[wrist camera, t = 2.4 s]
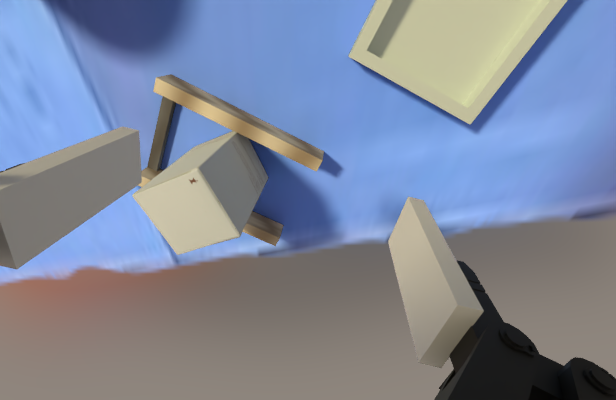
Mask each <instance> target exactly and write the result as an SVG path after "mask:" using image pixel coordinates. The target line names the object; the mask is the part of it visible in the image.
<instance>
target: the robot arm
mask: <svg viewBox="0 0 616 400" xmlns="http://www.w3.org/2000/svg"><path fill="white" fill-rule="evenodd" d="M141 182H142V176H141V159H140V142H139V130H135V129H131V128H127V127H120V128H118V129H115V130H112V131H110V132H107V133H104V134H102V135H99V136H96V137H94V138H91V139H88V140H86V141H83V142H80V143H78V144H75V145H72V146H70V147H67V148H64V149H62V150H59V151H57V152H54V153H51V154H49V155H46V156H43V157H41V158H38V159H35V160H33V161H30V162H27V163H23V164H19V165H17V166H14V167H11V168H8V169H6V170H5V171H0V266H4V267H9V268H13V269H18V268H19V267H21V266H22V265H24V264H25V263H27V262H28V261H29V260H31V259H32V258H34V257H35V256H37V255H38V254H40V253H41V252H42V251H44V250H45V249H47V248H48V247H50V246H51V245H52V244H54V243H55V242H57V241H58V240H60V239H61V238H62V237H64V236H65V235H67V234H68V233H70V232H71V231H73V230H74V229H75V228H77V227H78V226H80V225H81V224H83V223H84V222H85V221H87V220H88V219H90V218H91V217H93V216H94V215H96V214H97V213H98V212H100V211H101V210H103V209H104V208H106V207H107V206H108V205H110V204H111V203H113V202H114V201H116V200H117V199H118V198H120V197H121V196H123V195H124V194H126V193H127V192H129V191H130V190H131V189H133V188H134V187H136V186H137V185H139V184H140V183H141ZM388 243H389V247H390V251H391V255H392V259H393V262H394V267H395V271H396V275H397V279H398V283H399V287H400V291H401V295H402V299H403V303H404V307H405V311H406V314H407V319H408V323H409V326H410V331H411V335H412V339H413V343H414V347H415V351H416V355H417V359H418V363H422V364H426V365H431V366H435V367H439V368H441V367H442V366H443V365H444V364H445V362H446V361H447V360H448V358H449V357H450V358H451V361H452V364H453V367H454V370H453V371H452V372H451V374H450V375H449V376H448V377H447V378H446V380H445V381H444V382H443V383H442V385H441V386H440V387H439V389H440V391H439V393H438V395H437V396H436V398H435V400H616V379H615V378H614V377H613V376H612V375H611V374H609V373H608V372H607V371H606V370H604V369H603V368H601V367H599V366H598V365H596V364H594V363H593V362H590V361H588V360H585V359H583V358H576V357H575V358H573V359H571V360H570V361H569V362H568V363H567V364H566V365H565V366H563V365H561V364H559V363H557V362H555V361H552V360H550V359H548V358H546V357H544V356H542V355H540V354H539V352H538V350H537V349H536V347H535V345H534V343H533V342H532V341H531V340H530V339H529V338H528V337H527V336H526V335H525V334H524V333H522V332H521V331H520V330H519V329H517V328H515V327H514V326H512V325H510V324H508V323H504V322H503V320H502V318H501V317H500V315H499V313H498V312H497V310H496V308H495V307H494V305H493V303H492V301H491V300H490V298H489V296H488V295H487V294H486V293H485V290H484V288H483V286H482V285H480V281H479V280H478V278H477V276H476V275H475V273H474V272H473V271H472V270H471V269H470V268H469V267H468V266H467V265H466V264H465V263H464V262H461V261H457V260H456V259H455V257H454V255H453V253H452V252H451V250H450V248H449V246H448V244H447V242H446V241H445V239H444V237H443V235H442V233H441V231H440V230H439V228H438V226H437V224H436V222H435V220H434V219H433V217H432V215H431V213H430V211H429V209H428V208H427V206H426V204H425V202H424V200H420V199H416V198H412V197H408V198H407V200H406V203H405V205H404V207H403V209H402V212H401V214H400V216H399V218H398V221H397V223H396V225H395V227H394V230H393V232H392V234H391V236H390V239H389V241H388Z"/></svg>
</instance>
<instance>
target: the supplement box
mask: <svg viewBox="0 0 616 400" xmlns="http://www.w3.org/2000/svg"><path fill="white" fill-rule="evenodd" d="M267 180H268V176H267V174H266V172H265V170H264V168H263V166H262V164H261V162H260V160H259V158H258V156H257V154H256V152H255V150H254V148H253V146H252V144H251V142H250V140H249V138H247V137H245V136H243V135H241V134H239V133H237V132H235V131H232V132H229V133H227V134H224V135H222V136H219V137H217V138H215V139H212V140H210V141H207V142H205V143H202V144H200V145H197V146H195V147H193V148H192V149H191V150H190V151H188V152H187V153H186V154H184V155H183V156H182V157H181V158H179V159H178V160H177V161H175V162H174V163H173V164H172V165H170V166H169V167H168V168H166V169H165V170H164V171H162V172H161V173H160V174H158V175H157V176H156V177H155V178H153V179H152V180H151V181H149V182H148V183H147V184H146V185H144V186H143V187H142V188H140V189H139V190H138V191H137V192H135V193H134V194H133V197H134V199H135V200H136V201H137V203H138V204H139V205H140V206H141V208H142V209H143V210H144V211H145V213H146V214H147V215H148V217H149V218H150V219H151V221H152V222H153V223H154V225H155V226H156V227H157V229H158V230H159V231H160V233H161V234H162V235H163V236H164V238H165V239H166V240H167V242H168V243H169V244H170V246H171V247H172V248H173V250H174V251H175V252H176V254H177V255H179V254H182V253H186V252H189V251H192V250H196V249H199V248H202V247H205V246H209V245H212V244H216V243H220V242H223V241H227V240H231V239H234V238H238V237H240V236H241V234H242V231H243V229H244V227H245V225H246V223H247V221H248V219H249V217H250V215H251V213H252V211H253V209H254V207H255V205H256V203H257V201H258V199H259V196H260V194H261V192H262V190H263V188H264V186H265V184H266V182H267Z"/></svg>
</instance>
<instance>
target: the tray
mask: <svg viewBox="0 0 616 400" xmlns="http://www.w3.org/2000/svg"><path fill="white" fill-rule="evenodd" d="M566 2H567V0H376V1H375V3H374V5H373V7H372V9H371V11H370V13H369V15H368V17H367V19H366V21H365V23H364V25H363V27H362V29H361V31H360V33H359V35H358V37H357V39H356V41H355V43H354V45H353V47H352V49H351V51H350V53H349V55H348V56H349V57H350V58H352V59H354V60H356V61H357V62H359V63H361V64H363V65H365V66H366V67H368V68H370V69H372V70H373V71H375V72H377V73H379V74H381V75H382V76H384V77H386V78H388V79H389V80H391V81H393V82H395V83H397V84H398V85H400V86H402V87H404V88H406V89H407V90H409V91H411V92H413V93H414V94H416V95H418V96H420V97H422V98H423V99H425V100H427V101H429V102H431V103H432V104H434V105H436V106H438V107H439V108H441V109H443V110H445V111H447V112H448V113H450V114H452V115H454V116H455V117H457V118H459V119H461V120H463V121H464V122H466V123H468V124H471V123H472V122H473V121H474V119H475V118H476V117H477V115H478V114H479V113H480V112H481V110H482V109H483V108H484V107H485V105H486V104H487V103H488V101H489V100H490V99H491V98H492V96H493V95H494V94H495V92H496V91H497V90H498V89H499V87H500V86H501V85H502V84H503V82H504V81H505V80H506V78H507V77H508V76H509V75H510V73H511V72H512V71H513V69H514V68H515V67H516V66H517V64H518V63H519V62H520V60H521V59H522V58H523V57H524V55H525V54H526V53H527V52H528V50H529V49H530V48H531V46H532V45H533V44H534V43H535V41H536V40H537V39H538V37H539V36H540V35H541V34H542V32H543V31H544V30H545V29H546V27H547V26H548V25H549V23H550V22H551V21H552V20H553V18H554V17H555V16H556V14H557V13H558V12H559V11H560V9H561V8H562V7H563V6H564V4H565V3H566Z"/></svg>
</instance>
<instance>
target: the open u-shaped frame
mask: <svg viewBox="0 0 616 400" xmlns="http://www.w3.org/2000/svg"><path fill="white" fill-rule="evenodd" d="M154 92H156V93H158V94H160V95H162V96H163V98H162V102H161V107H160V112H159V116H158V121H157V125H156V130H155V135H154V139H153V144H152V148H151V153H150V158H149V162H148V167H147V168H145V169H144V170H142V171H141V176H142V182H141V183H140V184H139V185H138V186H141V187H143V186H144V185H146V184H147V183H148V182H149V181H151V180H152V179H153V178H155V177H156V176H157V175H158V174H160V173H161V172H162V171H163V170H161V169H160V166H161V162H162V158H163V154H164V150H165V146H166V142H167V137H168V133H169V129H170V125H171V121H172V117H173V113H174V109H175V104H176V103H178V104H180V105H182V106H184V107H186V108H188V109H190V110H192V111H194V112H196V113H198V114H200V115H202V116H204V117H207V118H209V119H211V120H213V121H215V122H217V123H219V124H221V125H223V126H225V127H227V128H229V129H231V130H233V131H235V132H237V133H239V134H241V135H243V136H245V137H247V138H249V139H251V140H253V141H255V142H257V143H259V144H261V145H264V146H266V147H268V148H270V149H272V150H274V151H276V152H278V153H280V154H282V155H284V156H286V157H288V158H290V159H292V160H294V161H296V162H298V163H300V164H302V165H304V166H306V167H308V168H310V169H312V170H314V171H317V170H318V168H319V166H320V164H321V162H322V161H323V154H324V151H322V150H320V149H318V148H316V147H314V146H312V145H310V144H308V143H306V142H304V141H302V140H300V139H298V138H296V137H294V136H292V135H290V134H288V133H286V132H284V131H282V130H280V129H278V128H276V127H274V126H272V125H270V124H269V123H267V122H265V121H263V120H261V119H259V118H257V117H255V116H253V115H251V114H249V113H247V112H245V111H243V110H241V109H239V108H237V107H235V106H233V105H231V104H229V103H227V102H225V101H223V100H221V99H219V98H217V97H215V96H213V95H211V94H209V93H207V92H205V91H203V90H201V89H199V88H197V87H195V86H193V85H191V84H189V83H187V82H185V81H183V80H181V79H179V78H177V77H175V76H173V75H166V76H161V77H156V81H155V86H154ZM283 226H284V225H282V224H280V223H278V222H275V221H273V220H271V219H269V218H267V217H264V216H262V215H260V214H258V213H256V212H253V211H252V213H251V215H250V217H249V219H248V221H247V223H246V225H245V227H244V229H243V231H242V232H245V233H247V234H249V235H251V236H254V237H256V238H258V239H260V240H263V241H265V242H267V243H269V244H272V245H274V246H276V244H277V242H278V240H279V239H280V236H281V232H282V229H283Z"/></svg>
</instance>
